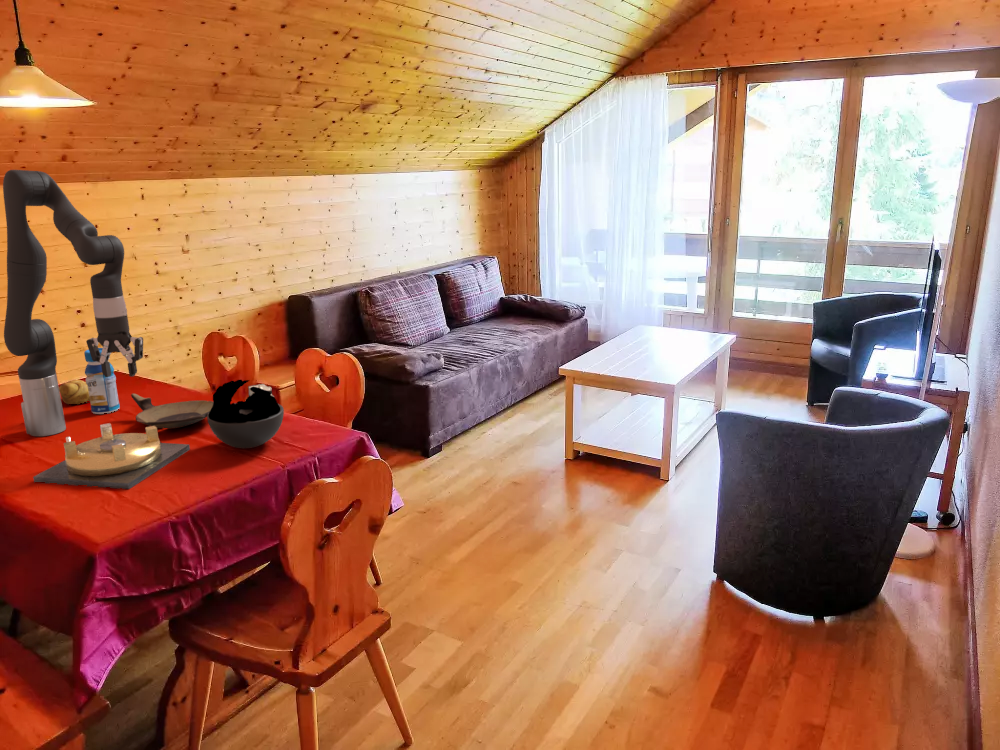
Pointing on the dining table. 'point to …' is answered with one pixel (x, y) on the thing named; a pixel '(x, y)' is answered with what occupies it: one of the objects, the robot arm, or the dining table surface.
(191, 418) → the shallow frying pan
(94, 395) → the beverage bottle
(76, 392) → the bread roll
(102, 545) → the dining table surface
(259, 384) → the pneumatic valve
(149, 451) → the round brass tray
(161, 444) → the base plate
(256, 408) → the bowl of black rocks
